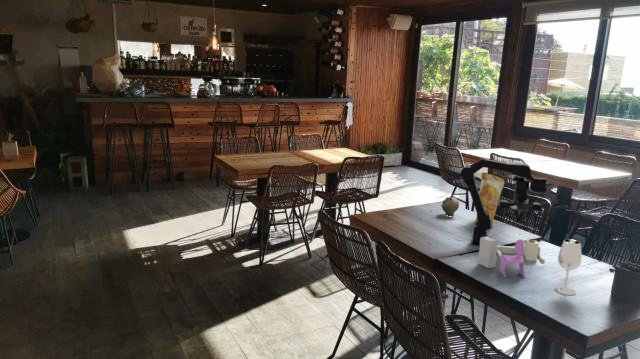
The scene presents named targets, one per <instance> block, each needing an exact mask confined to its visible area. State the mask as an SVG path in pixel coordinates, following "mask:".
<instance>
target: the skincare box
mask: <svg viewBox="0 0 640 359" xmlns="http://www.w3.org/2000/svg"><path fill="white" fill-rule="evenodd" d="M497 245H498V240H497V239H494V238H491V237H489V236H488V237H481V238H480V245H479V251H478V265H481V266H483V267H485V268H487V269H493V268H496V259H497V253H496V249H497Z"/></svg>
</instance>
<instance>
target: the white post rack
mask: <svg viewBox="0 0 640 359" xmlns="http://www.w3.org/2000/svg"><path fill="white" fill-rule="evenodd" d="M524 251H525V249H524ZM503 254H506V255H517V252H516V251H515V246H509V245H507V246H506V245H498V244H497V249H496V255H497V256H498V258H499V259H500V260H501V257H502V255H503ZM521 259H522V260H523V261H524V252H523V254H522V258H521ZM537 259H539V261H540V262H541V263H544V264H545V260H546V259H545V258H544V257H543V256H542V254H541V246H539V247H538V254H537Z"/></svg>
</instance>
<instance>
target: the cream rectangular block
mask: <svg viewBox="0 0 640 359" xmlns="http://www.w3.org/2000/svg"><path fill="white" fill-rule="evenodd" d="M538 247H540V243H539V242H538V241H537V240H534V239H525V251H524V255H523V258H524V259H525V260H526V261H537V260H538V257H537V254H538Z"/></svg>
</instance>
